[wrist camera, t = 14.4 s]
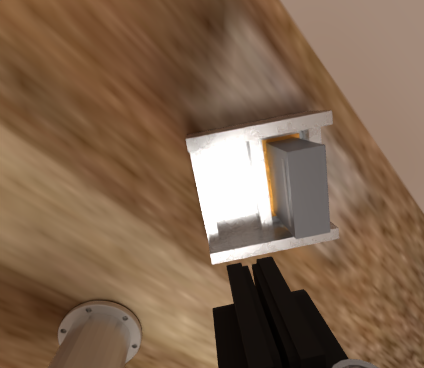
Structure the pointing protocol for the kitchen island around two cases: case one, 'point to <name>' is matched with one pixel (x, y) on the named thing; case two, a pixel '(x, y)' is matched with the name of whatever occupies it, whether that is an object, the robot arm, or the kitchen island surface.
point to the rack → (247, 185)
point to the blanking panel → (299, 186)
